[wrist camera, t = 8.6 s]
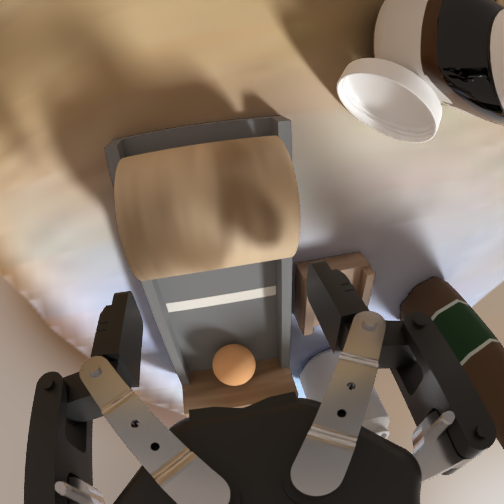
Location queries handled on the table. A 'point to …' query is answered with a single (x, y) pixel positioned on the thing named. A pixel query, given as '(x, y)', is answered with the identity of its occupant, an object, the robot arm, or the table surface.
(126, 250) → the log
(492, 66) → the spread jar
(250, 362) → the ball
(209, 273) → the lane
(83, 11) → the table surface
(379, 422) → the can
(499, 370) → the beer bottle
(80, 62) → the table surface
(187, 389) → the backstop
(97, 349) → the robot arm
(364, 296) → the tee
